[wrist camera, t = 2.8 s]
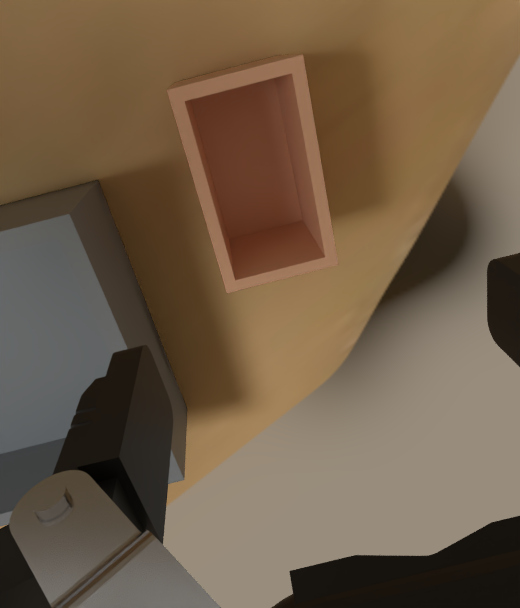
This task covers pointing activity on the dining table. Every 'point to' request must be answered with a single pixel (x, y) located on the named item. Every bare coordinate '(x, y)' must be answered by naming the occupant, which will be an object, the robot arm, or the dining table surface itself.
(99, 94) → the dining table surface
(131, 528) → the robot arm
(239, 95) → the small crate
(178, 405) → the big crate
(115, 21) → the dining table surface
